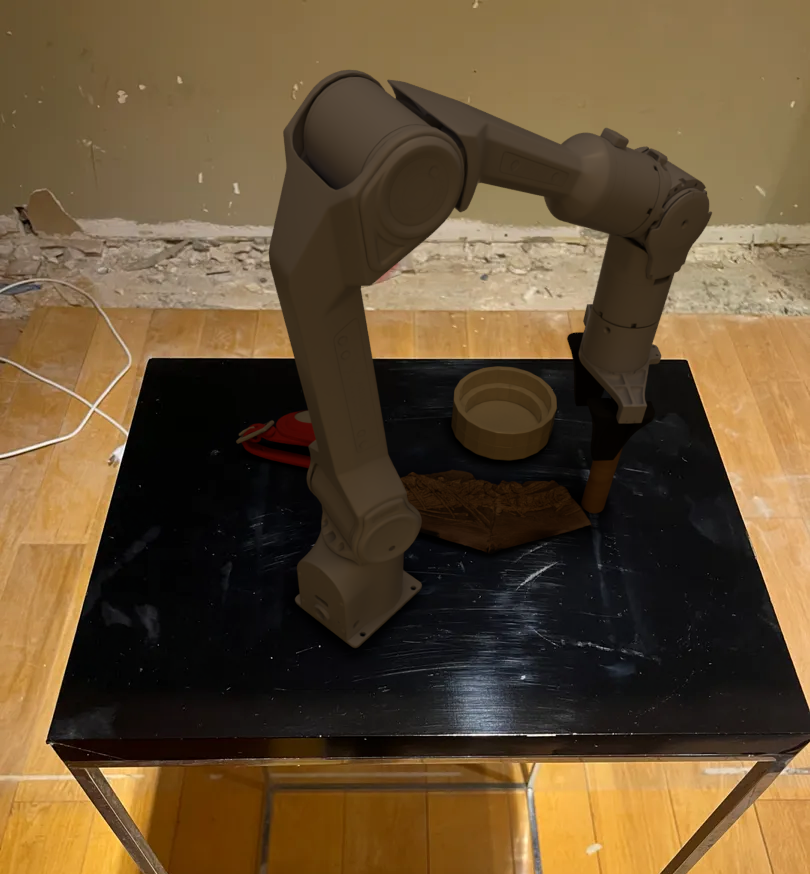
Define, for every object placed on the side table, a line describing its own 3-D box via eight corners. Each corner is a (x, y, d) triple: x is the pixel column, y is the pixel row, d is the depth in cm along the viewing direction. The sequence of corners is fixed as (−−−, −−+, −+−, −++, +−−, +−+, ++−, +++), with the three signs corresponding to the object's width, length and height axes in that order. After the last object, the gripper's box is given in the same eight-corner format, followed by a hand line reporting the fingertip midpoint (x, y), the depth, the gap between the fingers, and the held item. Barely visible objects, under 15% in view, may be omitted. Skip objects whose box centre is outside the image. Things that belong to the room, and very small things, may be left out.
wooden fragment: (589, 486, 88) (591, 479, 87) (593, 567, 81) (595, 560, 80) (349, 464, 89) (349, 457, 88) (332, 542, 82) (332, 535, 81)
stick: (596, 517, 85) (615, 453, 78) (576, 505, 86) (593, 442, 79) (608, 504, 86) (628, 441, 80) (589, 493, 87) (607, 429, 80)
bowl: (511, 479, 88) (516, 448, 85) (431, 431, 93) (433, 400, 89) (569, 427, 94) (576, 396, 91) (490, 384, 99) (495, 353, 95)
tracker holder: (318, 394, 95) (375, 421, 88) (319, 430, 97) (374, 458, 91) (226, 419, 87) (281, 449, 81) (230, 457, 90) (283, 490, 83)
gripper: (699, 361, 64) (654, 483, 75) (651, 260, 74) (617, 380, 84) (610, 363, 64) (577, 485, 74) (573, 261, 73) (549, 382, 84)
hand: (593, 430), depth 79 cm, fingers open, 7 cm apart
